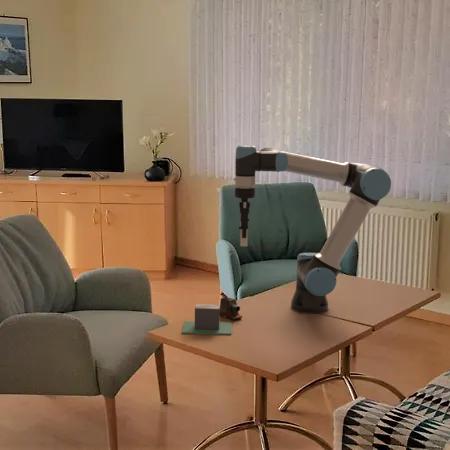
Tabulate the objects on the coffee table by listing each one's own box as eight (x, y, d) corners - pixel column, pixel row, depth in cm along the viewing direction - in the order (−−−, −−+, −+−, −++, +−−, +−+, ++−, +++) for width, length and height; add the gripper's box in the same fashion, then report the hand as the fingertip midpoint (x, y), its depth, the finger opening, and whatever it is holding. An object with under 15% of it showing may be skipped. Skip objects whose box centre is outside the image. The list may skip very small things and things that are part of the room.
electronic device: (234, 321, 262) (234, 303, 261) (218, 315, 270) (218, 297, 268) (242, 319, 265) (243, 300, 264) (226, 313, 272) (227, 295, 271)
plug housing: (219, 325, 256) (219, 304, 255) (218, 329, 251) (219, 308, 250) (195, 324, 256) (195, 304, 255) (194, 328, 251) (194, 308, 250)
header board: (231, 323, 260) (231, 313, 259) (231, 335, 248) (231, 324, 247) (184, 322, 260) (184, 312, 259) (181, 333, 248) (181, 323, 247)
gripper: (235, 182, 268) (234, 235, 272) (234, 191, 243) (233, 249, 247) (254, 182, 268) (252, 235, 272) (255, 192, 243) (254, 249, 247)
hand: (243, 242), depth 259 cm, fingers open, 13 cm apart
